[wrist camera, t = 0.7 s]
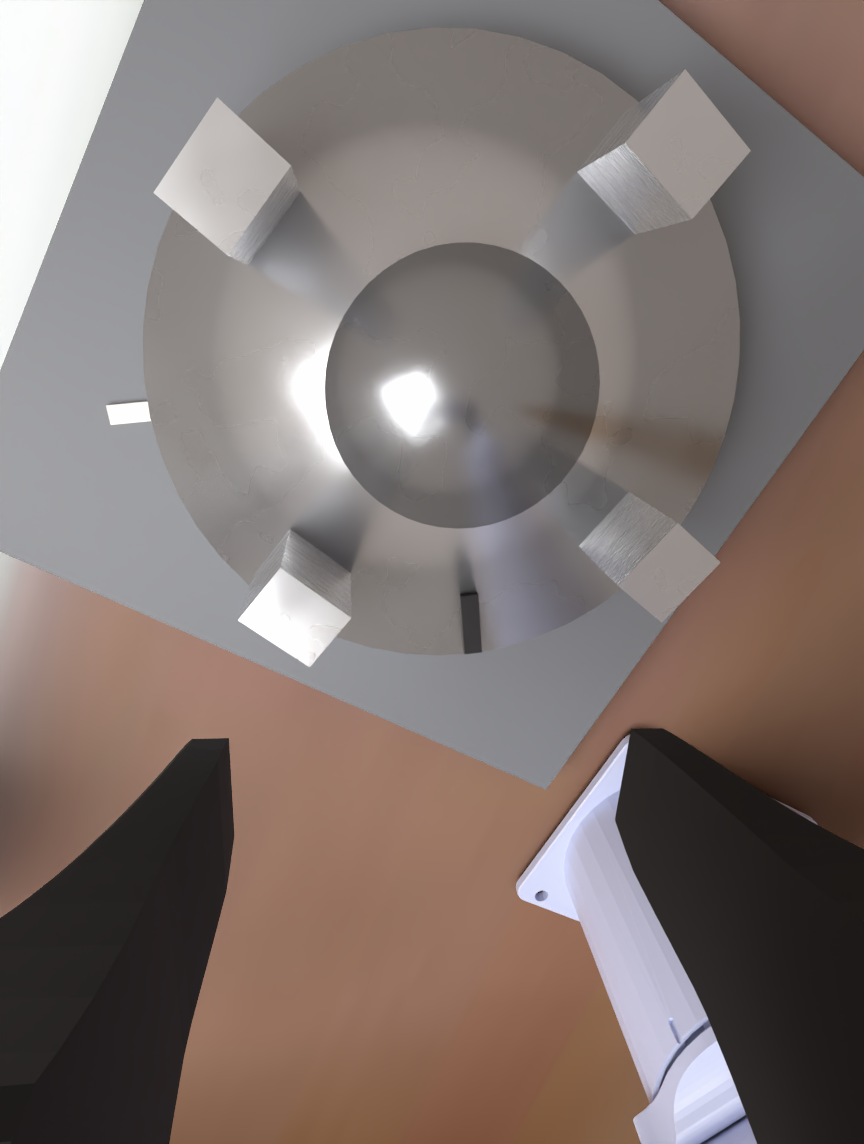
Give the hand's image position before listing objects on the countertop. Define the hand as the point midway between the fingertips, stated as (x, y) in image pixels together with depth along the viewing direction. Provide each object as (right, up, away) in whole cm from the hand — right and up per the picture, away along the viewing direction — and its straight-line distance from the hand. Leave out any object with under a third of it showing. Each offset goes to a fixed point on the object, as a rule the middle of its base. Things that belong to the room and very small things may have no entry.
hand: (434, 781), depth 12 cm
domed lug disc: (0, +9, +6) cm, 11 cm away
